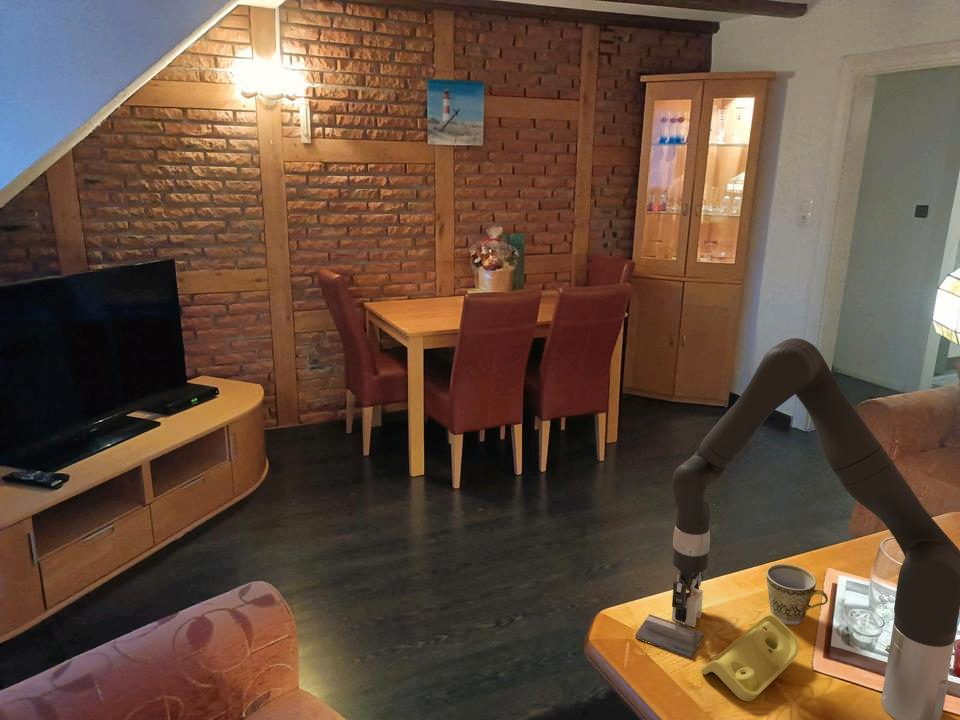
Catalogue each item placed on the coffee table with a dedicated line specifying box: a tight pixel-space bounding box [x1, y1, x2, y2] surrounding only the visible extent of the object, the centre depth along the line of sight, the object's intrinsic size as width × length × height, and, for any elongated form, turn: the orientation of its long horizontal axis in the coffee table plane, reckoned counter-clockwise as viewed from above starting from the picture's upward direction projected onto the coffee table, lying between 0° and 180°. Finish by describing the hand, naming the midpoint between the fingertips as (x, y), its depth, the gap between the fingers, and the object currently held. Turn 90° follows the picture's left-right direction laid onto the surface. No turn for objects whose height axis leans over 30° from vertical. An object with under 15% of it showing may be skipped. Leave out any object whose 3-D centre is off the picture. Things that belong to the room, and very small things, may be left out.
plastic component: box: [700, 613, 800, 702], centre depth 138 cm, size 20×7×10 cm
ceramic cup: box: [766, 563, 829, 626], centre depth 152 cm, size 13×10×10 cm
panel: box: [635, 614, 704, 659], centre depth 148 cm, size 12×8×3 cm, turn 56°
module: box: [671, 588, 704, 628], centre depth 154 cm, size 5×5×7 cm
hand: (686, 609), depth 154 cm, fingers open, 8 cm apart
